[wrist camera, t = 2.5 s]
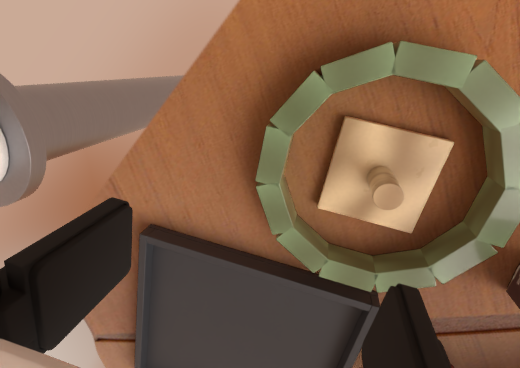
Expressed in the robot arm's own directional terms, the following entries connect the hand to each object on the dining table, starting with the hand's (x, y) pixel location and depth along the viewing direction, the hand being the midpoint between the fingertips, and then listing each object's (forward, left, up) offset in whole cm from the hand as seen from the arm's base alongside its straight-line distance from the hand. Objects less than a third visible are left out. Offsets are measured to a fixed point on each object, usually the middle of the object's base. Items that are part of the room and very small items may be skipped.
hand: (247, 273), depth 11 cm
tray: (-1, -23, -16) cm, 28 cm away
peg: (+7, 0, -16) cm, 18 cm away
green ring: (+7, 0, -16) cm, 18 cm away
